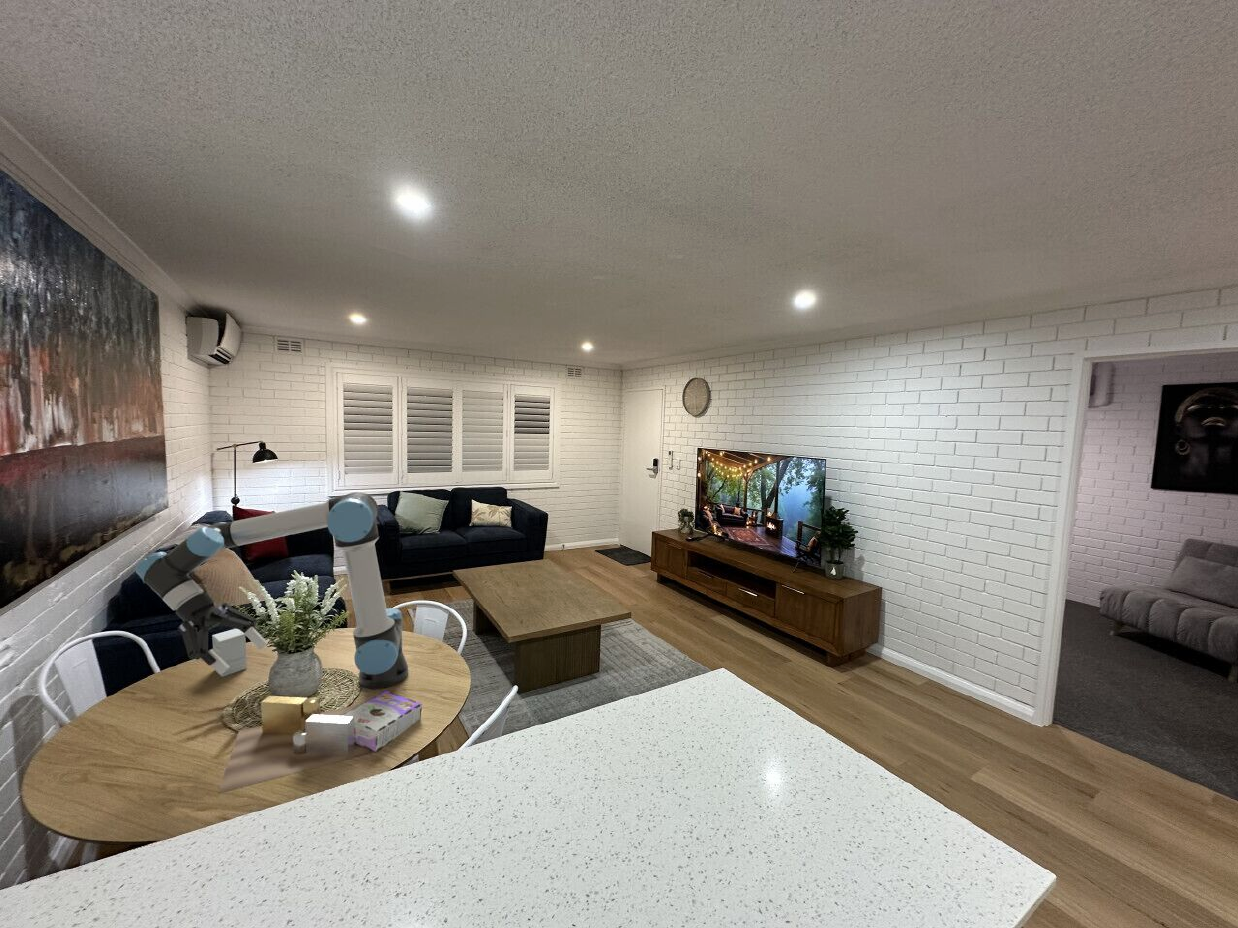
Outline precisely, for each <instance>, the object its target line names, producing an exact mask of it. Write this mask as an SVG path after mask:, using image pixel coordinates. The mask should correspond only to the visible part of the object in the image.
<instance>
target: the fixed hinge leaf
mask: <svg viewBox="0 0 1238 928" xmlns="http://www.w3.org/2000/svg"><path fill="white" fill-rule="evenodd" d="M305 728H306V729H302V730H299V731H297V732H296V733H295V734H294V735H293V748H294V754H296V755H301V754H304V753H306V754H318V755H335V756H349V755H350V753H351V752H352V751H353V750H354V748H355V746H354V717H352V716H334V715H316V714H313V715H311V716H310V717H309V718H308V719H307V720H306V721H305Z"/></svg>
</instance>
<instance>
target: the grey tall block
mask: <svg viewBox="0 0 1238 928" xmlns="http://www.w3.org/2000/svg"><path fill="white" fill-rule="evenodd" d="M244 633H245V632H244V631H243V630H239V629H235V628H232V629H230V630H226V631H223V632H219V633H216V634H212V635H211V637H212V638H211V639H212V649H213V650H214V651H215V652H216V653H217V654H218V655H219V656H220V657H221V658H222V659H223V660H224V661H225V662H226V663H227V664H228V665H229V666H230V667H229V668H228V669H227V670H226V671H225V672H224V673H223V674H221V675H220V674H219V673H218V672H217V671H216V670H215V669H214V668H213V669H214V671H215V672H216V673H217V674H218V675H219V676H220V677H222V678H223V677H226V676H229V675H232V674H234V673H237V672H241V671H243V670H246V669H248V662H247V660H248V657H247V641H246V635H245V634H244Z"/></svg>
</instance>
